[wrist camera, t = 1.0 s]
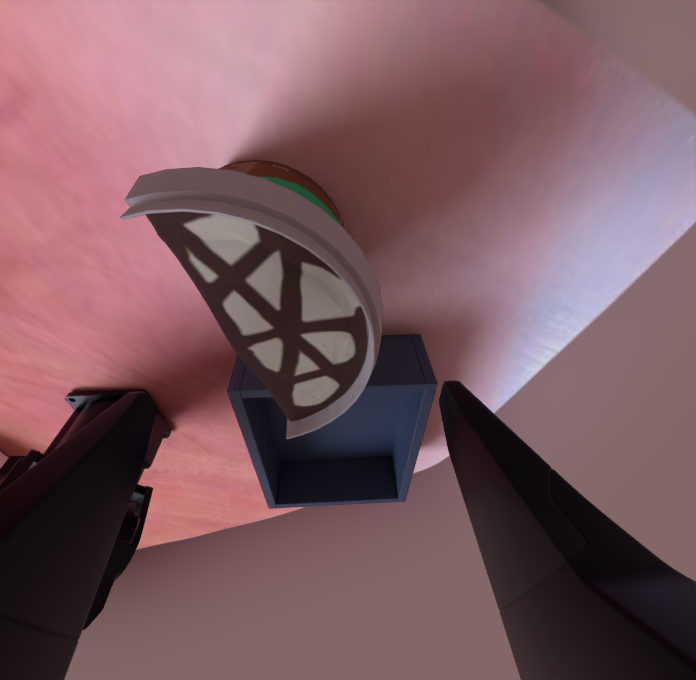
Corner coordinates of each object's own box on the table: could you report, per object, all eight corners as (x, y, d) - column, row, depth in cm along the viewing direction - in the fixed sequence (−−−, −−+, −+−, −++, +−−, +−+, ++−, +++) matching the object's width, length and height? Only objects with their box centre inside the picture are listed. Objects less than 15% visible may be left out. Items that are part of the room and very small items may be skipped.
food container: (384, 300, 23) (413, 419, 15) (301, 322, 24) (291, 445, 16) (329, 88, 15) (333, 115, 7) (209, 133, 16) (104, 197, 8)
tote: (274, 460, 36) (268, 508, 32) (242, 339, 24) (226, 391, 21) (396, 455, 37) (405, 501, 33) (420, 334, 25) (438, 383, 21)
